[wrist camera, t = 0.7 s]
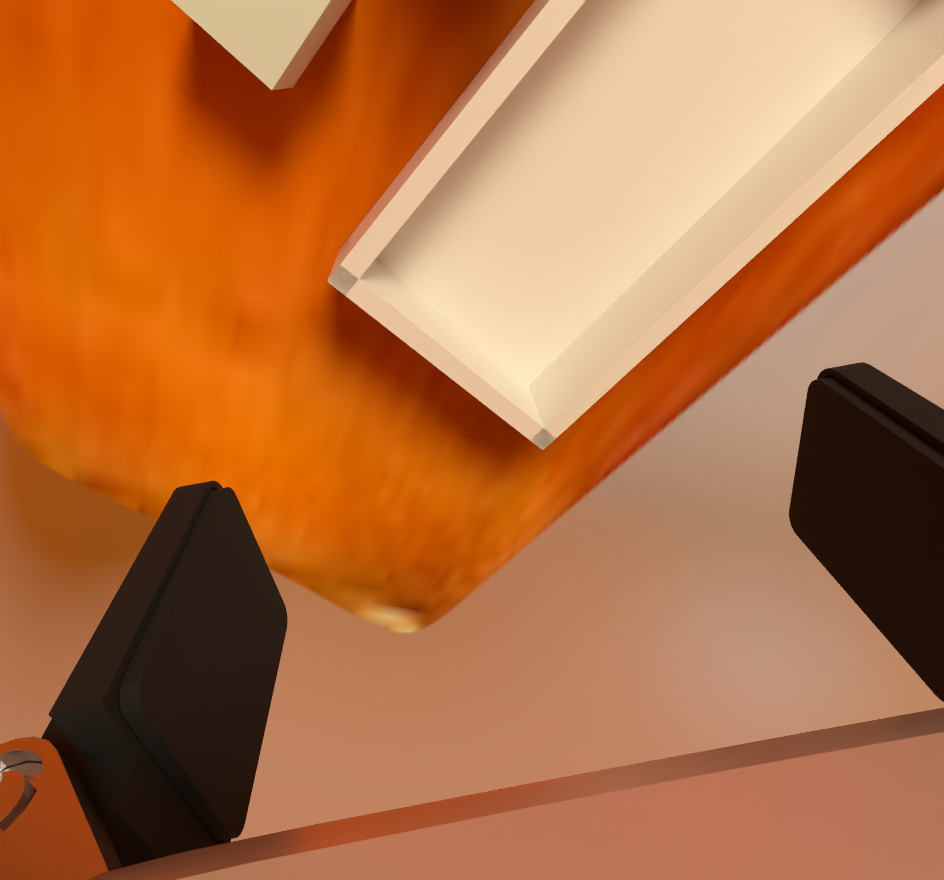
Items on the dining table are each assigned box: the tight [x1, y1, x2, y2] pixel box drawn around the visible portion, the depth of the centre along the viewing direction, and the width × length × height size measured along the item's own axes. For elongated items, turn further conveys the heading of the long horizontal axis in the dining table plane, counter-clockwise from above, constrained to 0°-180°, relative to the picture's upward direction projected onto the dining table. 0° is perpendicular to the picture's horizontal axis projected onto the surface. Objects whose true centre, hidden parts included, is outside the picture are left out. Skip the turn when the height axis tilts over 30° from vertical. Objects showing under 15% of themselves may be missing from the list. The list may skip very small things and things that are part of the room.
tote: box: [327, 0, 944, 450], centre depth 27 cm, size 30×14×6 cm, turn 138°
